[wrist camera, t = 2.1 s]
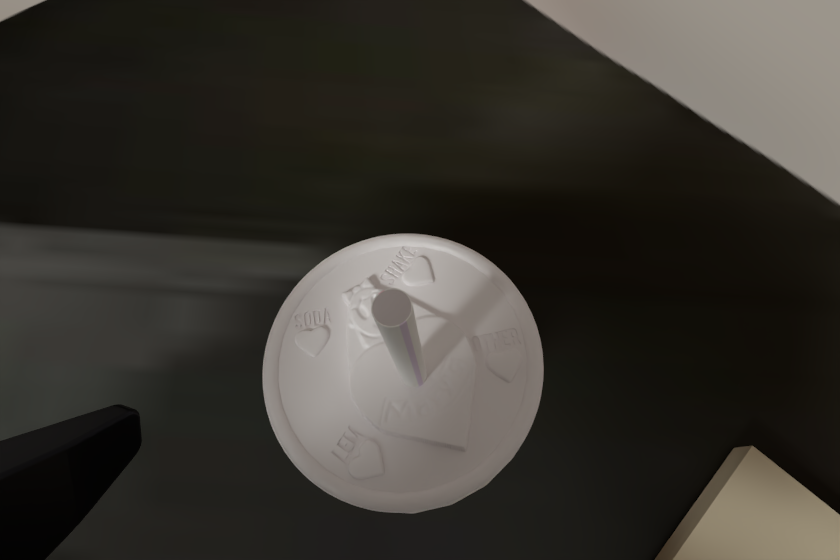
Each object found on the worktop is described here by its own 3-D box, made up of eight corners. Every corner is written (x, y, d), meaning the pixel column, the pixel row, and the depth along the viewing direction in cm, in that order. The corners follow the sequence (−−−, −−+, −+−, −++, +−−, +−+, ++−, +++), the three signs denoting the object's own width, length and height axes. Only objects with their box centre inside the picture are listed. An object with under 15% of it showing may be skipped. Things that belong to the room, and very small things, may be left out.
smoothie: (400, 536, 17) (265, 687, 5) (318, 393, 20) (75, 229, 7) (534, 434, 19) (722, 330, 6) (442, 311, 21) (429, 40, 8)
